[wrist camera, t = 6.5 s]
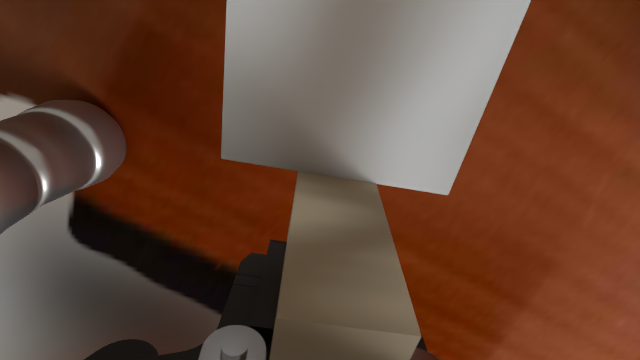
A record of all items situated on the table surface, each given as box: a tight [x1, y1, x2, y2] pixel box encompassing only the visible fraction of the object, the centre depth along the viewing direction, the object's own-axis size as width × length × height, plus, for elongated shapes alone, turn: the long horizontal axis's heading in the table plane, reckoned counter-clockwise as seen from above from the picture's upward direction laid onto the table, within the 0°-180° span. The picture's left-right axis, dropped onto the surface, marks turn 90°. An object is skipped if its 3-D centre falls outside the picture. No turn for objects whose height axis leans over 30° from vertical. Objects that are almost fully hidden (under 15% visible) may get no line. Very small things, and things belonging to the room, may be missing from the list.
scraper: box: [221, 0, 531, 360], centre depth 8 cm, size 7×16×6 cm, turn 170°
